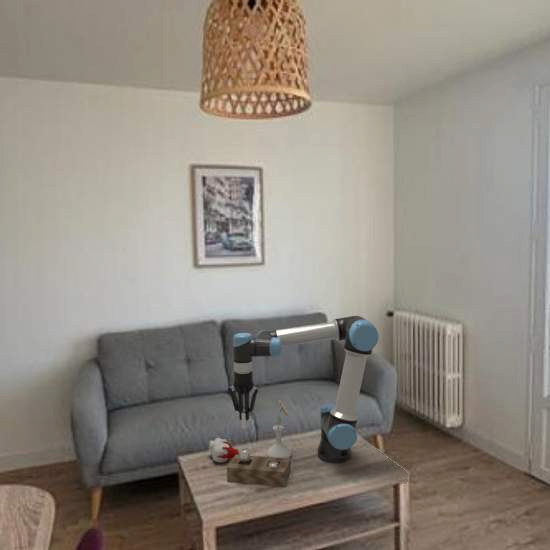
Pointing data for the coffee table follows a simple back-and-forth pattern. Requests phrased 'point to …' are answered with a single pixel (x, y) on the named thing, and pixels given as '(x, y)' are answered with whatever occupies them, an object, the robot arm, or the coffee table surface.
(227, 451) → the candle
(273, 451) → the flower in vase
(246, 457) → the steel peg
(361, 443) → the coffee table surface
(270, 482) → the walnut block
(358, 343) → the robot arm
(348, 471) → the coffee table surface
